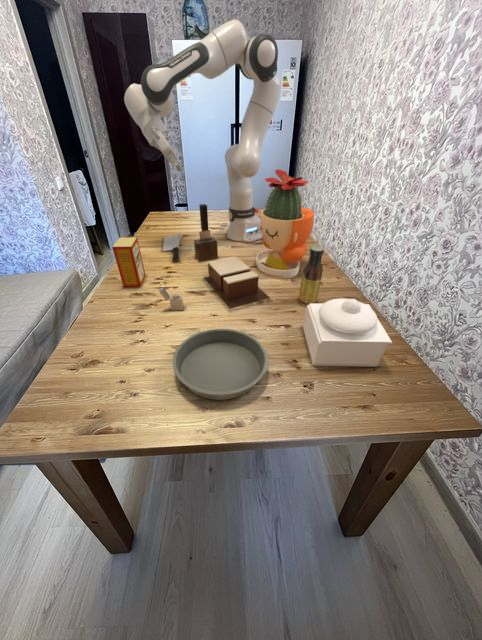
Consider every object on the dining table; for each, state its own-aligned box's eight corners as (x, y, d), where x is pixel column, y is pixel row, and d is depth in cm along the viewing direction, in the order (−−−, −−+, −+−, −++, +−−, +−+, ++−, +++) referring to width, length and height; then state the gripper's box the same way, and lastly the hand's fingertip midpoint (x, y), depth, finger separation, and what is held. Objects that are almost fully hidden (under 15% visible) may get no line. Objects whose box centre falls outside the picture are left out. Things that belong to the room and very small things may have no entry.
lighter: (183, 307, 99) (181, 286, 94) (183, 309, 98) (180, 289, 92) (163, 307, 99) (159, 286, 94) (162, 310, 98) (158, 289, 92)
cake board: (203, 279, 114) (203, 277, 113) (238, 271, 119) (238, 269, 118) (229, 311, 97) (229, 308, 96) (270, 300, 102) (270, 297, 101)
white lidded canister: (302, 326, 90) (311, 281, 79) (359, 327, 90) (376, 282, 79) (312, 365, 77) (325, 317, 66) (379, 367, 76) (403, 318, 66)
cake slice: (223, 294, 103) (223, 277, 99) (252, 287, 107) (253, 270, 103) (228, 299, 101) (228, 282, 96) (257, 292, 104) (258, 275, 100)
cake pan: (191, 420, 64) (189, 408, 61) (164, 353, 81) (162, 341, 78) (284, 386, 71) (286, 374, 68) (242, 331, 88) (242, 320, 85)
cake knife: (200, 257, 130) (196, 204, 115) (210, 255, 131) (207, 203, 116) (202, 259, 128) (198, 206, 113) (212, 257, 129) (210, 205, 115)
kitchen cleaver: (163, 235, 148) (182, 232, 148) (164, 238, 149) (183, 235, 149) (159, 261, 125) (181, 257, 125) (160, 264, 126) (182, 261, 126)
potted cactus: (272, 282, 112) (283, 180, 89) (247, 260, 127) (250, 168, 104) (317, 271, 118) (338, 174, 95) (288, 252, 134) (299, 164, 110)
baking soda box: (129, 275, 117) (119, 236, 106) (145, 275, 117) (136, 236, 106) (123, 287, 110) (112, 246, 99) (140, 286, 110) (130, 245, 99)
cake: (208, 277, 113) (207, 261, 109) (235, 271, 117) (235, 256, 112) (220, 291, 105) (220, 274, 101) (249, 284, 109) (250, 268, 104)
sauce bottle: (304, 295, 104) (315, 241, 91) (319, 302, 101) (332, 247, 88) (294, 302, 101) (303, 247, 87) (309, 309, 97) (321, 253, 84)
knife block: (213, 253, 133) (212, 236, 127) (217, 258, 129) (217, 240, 124) (195, 257, 130) (193, 239, 124) (199, 261, 126) (197, 243, 121)
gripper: (157, 119, 102) (181, 157, 106) (167, 136, 120) (187, 168, 125) (144, 131, 103) (168, 168, 107) (156, 146, 122) (176, 177, 126)
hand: (178, 168), depth 116 cm, fingers open, 8 cm apart
